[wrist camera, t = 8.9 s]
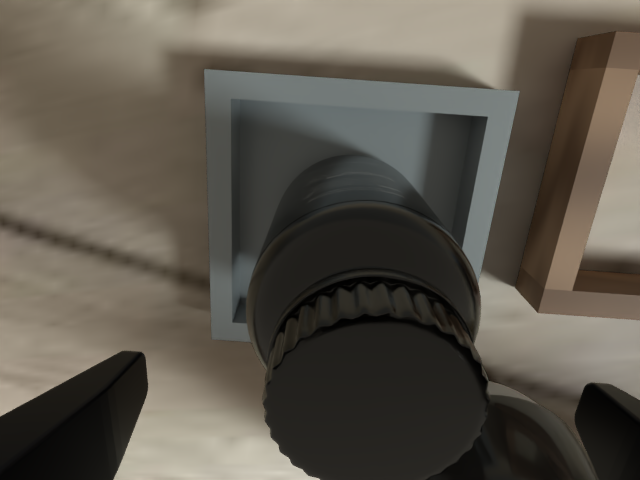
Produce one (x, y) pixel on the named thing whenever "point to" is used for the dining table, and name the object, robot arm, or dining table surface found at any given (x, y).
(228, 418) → the dining table surface
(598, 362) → the dining table surface
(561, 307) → the walnut collar
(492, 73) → the dining table surface
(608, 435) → the robot arm
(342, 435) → the supplement bottle
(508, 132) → the slate tray
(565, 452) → the grey egg shaped device
